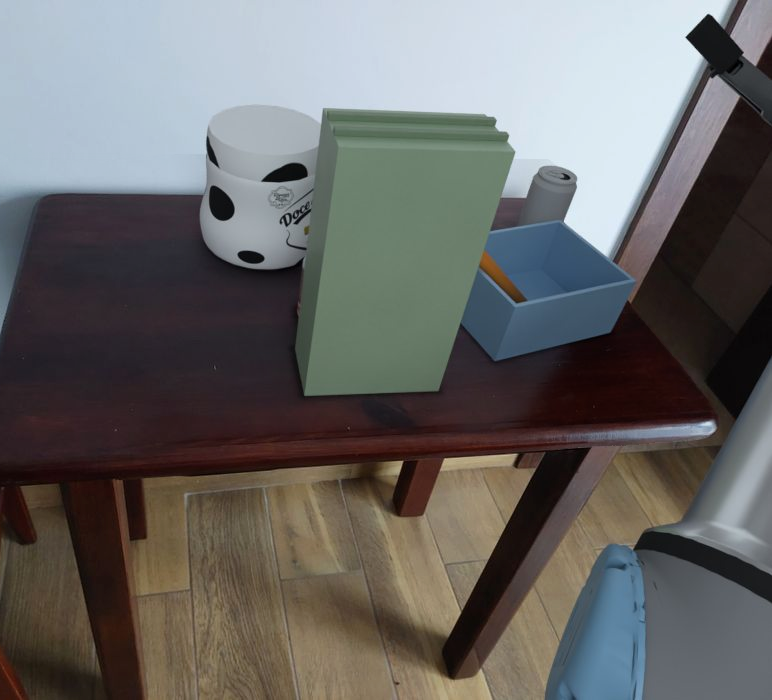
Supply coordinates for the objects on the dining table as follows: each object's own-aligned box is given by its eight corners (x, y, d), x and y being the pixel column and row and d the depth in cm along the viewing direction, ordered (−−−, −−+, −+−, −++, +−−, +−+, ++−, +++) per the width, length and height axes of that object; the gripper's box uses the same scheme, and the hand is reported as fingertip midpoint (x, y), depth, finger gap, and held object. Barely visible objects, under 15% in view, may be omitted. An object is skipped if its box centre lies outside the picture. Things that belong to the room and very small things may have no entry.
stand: (420, 346, 85) (487, 107, 65) (438, 391, 79) (518, 145, 59) (294, 349, 82) (323, 101, 62) (304, 396, 76) (339, 139, 56)
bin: (610, 332, 91) (637, 281, 85) (494, 361, 84) (515, 307, 79) (540, 269, 101) (560, 219, 95) (431, 290, 94) (446, 238, 89)
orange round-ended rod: (519, 311, 92) (529, 302, 92) (525, 318, 91) (536, 310, 90) (442, 224, 80) (454, 214, 80) (448, 232, 79) (460, 222, 79)
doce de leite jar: (328, 282, 93) (346, 161, 81) (201, 282, 90) (200, 157, 78) (310, 216, 106) (323, 103, 94) (198, 215, 103) (197, 98, 91)
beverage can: (550, 259, 104) (579, 188, 96) (509, 247, 105) (533, 177, 97) (554, 239, 108) (581, 170, 100) (514, 228, 109) (538, 159, 101)
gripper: (891, 249, 66) (793, 140, 56) (735, 138, 84) (639, 40, 74) (972, 190, 62) (883, 62, 52) (790, 87, 81) (698, -23, 70)
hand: (740, 49), depth 63 cm, fingers open, 13 cm apart
